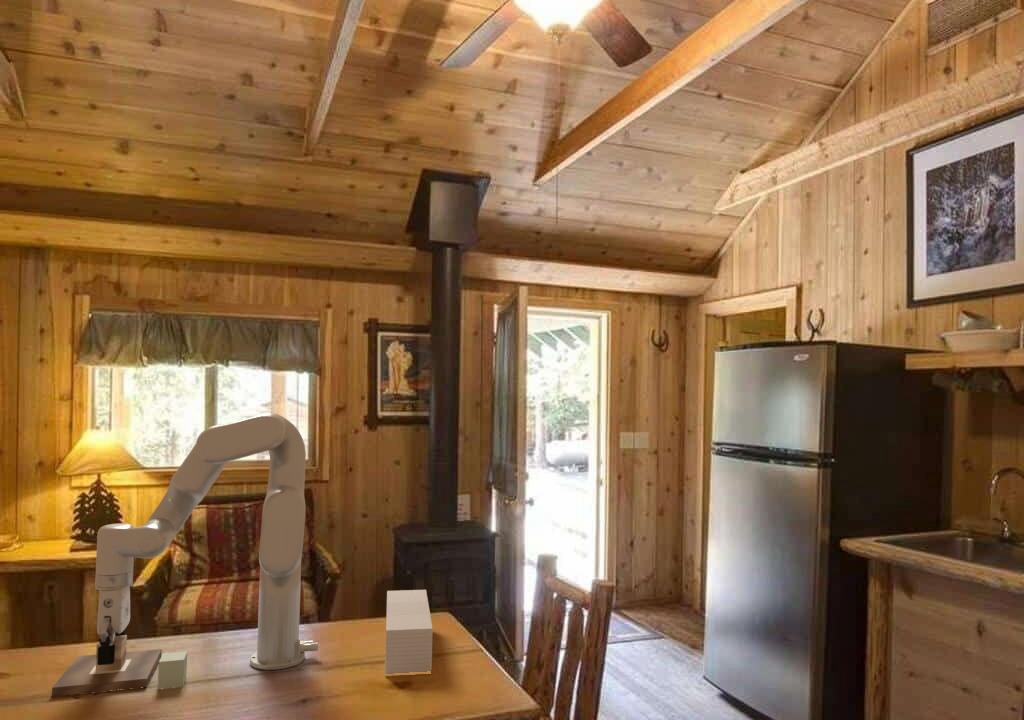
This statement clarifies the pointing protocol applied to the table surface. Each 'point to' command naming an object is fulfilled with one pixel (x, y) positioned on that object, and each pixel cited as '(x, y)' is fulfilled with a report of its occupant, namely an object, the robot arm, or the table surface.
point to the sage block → (172, 670)
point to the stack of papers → (408, 632)
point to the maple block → (119, 656)
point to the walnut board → (107, 674)
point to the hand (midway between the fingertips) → (111, 656)
